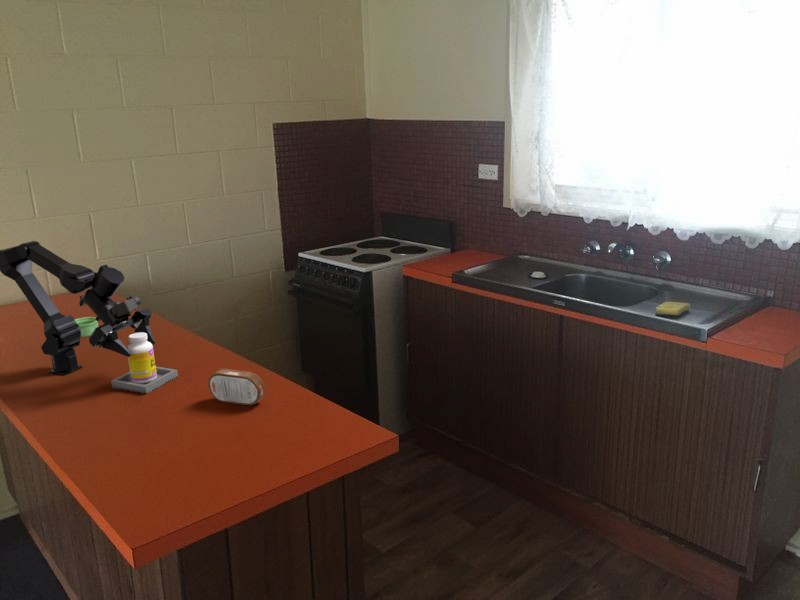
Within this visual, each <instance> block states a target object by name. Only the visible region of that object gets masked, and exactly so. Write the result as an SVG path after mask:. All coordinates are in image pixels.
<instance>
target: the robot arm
mask: <svg viewBox="0 0 800 600" xmlns="http://www.w3.org/2000/svg"><path fill="white" fill-rule="evenodd" d="M33 264H35V265H37V266H38V267H40V268H41V269H43V270H45V271H46V272H48V273H49V274H51V275H53V276H54V277H56V278H57V279H58V280H59V283H60V285H61V286H62V287H63V288H64V289H66V290H67V292H69V293H70V294H74V295H76V294H79V293H82V292H84V291H86V292H85V293H84V294H82V295H79V302H78V304H79V306H80V307H83V306H87V307H88V308H89V309H90V310H91V312H93V313H94V315H96V320H97V321H98V322H102V323H103V324H101V325H98V327H97V328H96V329H95V330H94V331H93V333H92V334H91V336H88V341H89V344H90V345H91V346H92V348H97V347H98V348H99V349H102V348H103V349H106V350H109V351H113V352H114V353H117V354H119V355H122V356H125V357H127V358H128V357H130V356H131V353H130V352H129V350H128V349H127V347H126V346H125V344H124V343H123V342H122V341H121V339H120V338H119V335H118V332H120V331H122V330H124V329H126V328H129V327H131V329H134V332H135V333H140V332H143V333H147V337H148V338H147V341H148V342H150V343H151V344H152V345H153V346H154V345H156V341H155V337H154V335H153V333H152V332H153V331H152V329H151V325H150V320H151V319H152V315H153V312H152V310H151V309H150V308H149V307H142V308H140V305H141V304H142V301H141V298H140V297H139V296H137V295H136V294H131V295H129V296H127V297H126V300H125V301H122V302H121V301H119V300H116V301H115V300H113V298H112V297H113V296H115V294H116V293H117V292H118V289H119V288H120V287H121V285H122V284H123V283H124V281H125V275H124V274H123V272H122V271H120V270H118V269H117V268H114V267H111V266H110V267H109V265H108V264H103V265H100V266H99V268H98V271H97V272H96V271H93V270H92V269H91V268H89V267H86V266H85V265H82V264H75V263H71V262H68V261H67V260H65V258H64V259H63V258H62V257H60V256H59V255H57V254H55V252H52V251H50V250H49V249H48V248H45V247H44V246H42V245H41V243H40V242H39V241H36V240H32V241H28V242H23V243H20V244H19V245H15V246H11V247H7V248H4V249H0V273H1V274H2V275H4V276H5V277H8V278H9V279H11V280H13V281H14V282H15V283H16V285H17V286H18V288H19V289H20V290H21V292H22V293H23V295H24V296H25V298H26V299H27V301H28V302H29V304H30V305H31V306H32V308H33V310H34V311H35V312H36V314H37V315H38V317H39V318H40V320H42V321H41V322H43V334H44V336H45V341H44V342H43V343H42V345H41V346H40V349H41V350H42V352H43V355H47V356H50V360H51V362H52V363H51V364H52V368H51V369H49V370H48V373H49V374H50V373H51V374H56V375H60V376H61V375H62V376H65V375H66V376H67V375H68V374H70V373H72V372H74V371H77V370H79V369H81V368H83V365H82V364H79V363H78V357H77V354H76V349H75V348H76V347H79V346H81V345H80V344H81V338H82V337H81V331H80V329H79V325H78V324H77V323H76V322H75V318H74V317H73V315H71V314H68V315H65V314H62V313H61V312H60V310H59V309H58V308H57V306H56V304H55V303H54V302H53V301H52V299H51V297H50V295H49V294H48V293H47V291H46V290H45V288H44V287H43V286H42V284H41V283H40V281H39V279H38V278H37V277H36V275H35V274H34V272H33ZM133 311H135V312H134V313H132V312H133ZM131 315H132V316H131ZM129 317H130V318H129Z"/></svg>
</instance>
